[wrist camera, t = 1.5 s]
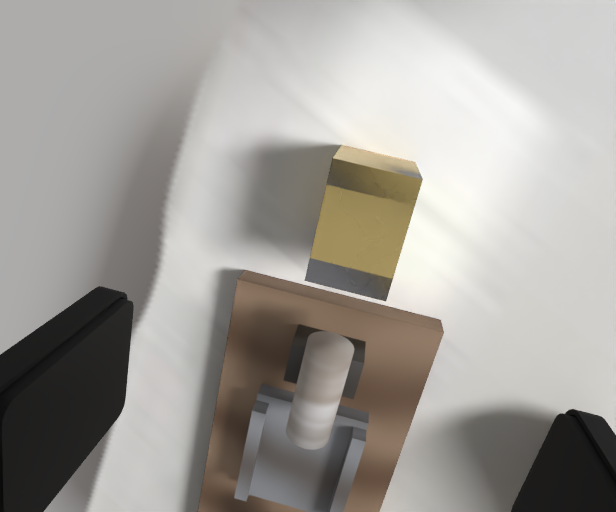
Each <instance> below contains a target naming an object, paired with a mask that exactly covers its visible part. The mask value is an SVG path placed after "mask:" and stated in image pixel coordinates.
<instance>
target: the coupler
mask: <svg viewBox="0 0 616 512" xmlns="http://www.w3.org/2000/svg"><path fill="white" fill-rule="evenodd" d="M422 180H423V179H422V177H421V174H420V172H419V170H418V168H417V165H416V163H415V162H412V161H408V160H404V159H400V158H395V157H391V156H387V155H383V154H378V153H374V152H370V151H366V150H361V149H357V148H353V147H349V146H344V145H341V147H340V148H339V150H338V151H337V152H336V154H335V155H334V157H333V159H332V163H331V167H330V172H329V176H328V181H327V185H326V189H325V194H324V198H323V203H322V207H321V211H320V216H319V220H318V225H317V229H316V233H315V238H314V242H313V247H312V251H311V255H310V260H309V264H308V269H307V273H306V277H305V281H308V282H312V283H316V284H320V285H324V286H328V287H332V288H336V289H340V290H344V291H348V292H352V293H355V294H359V295H363V296H367V297H371V298H375V299H379V300H383V301H386V299H387V296H388V293H389V289H390V286H391V283H392V279H393V276H394V273H395V269H396V266H397V263H398V259H399V256H400V253H401V250H402V246H403V243H404V240H405V236H406V233H407V230H408V226H409V223H410V220H411V216H412V213H413V210H414V206H415V203H416V200H417V196H418V193H419V190H420V186H421V183H422Z"/></svg>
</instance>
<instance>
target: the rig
mask: <svg viewBox="0 0 616 512" xmlns="http://www.w3.org/2000/svg"><path fill="white" fill-rule="evenodd" d="M443 333H444V331H443V327H442V323H441V320H438V319H434V318H430V317H426V316H422V315H419V314H415V313H411V312H407V311H403V310H399V309H395V308H391V307H387V306H383V305H379V304H376V303H372V302H368V301H364V300H360V299H356V298H352V297H348V296H344V295H340V294H337V293H333V292H329V291H325V290H321V289H317V288H313V287H309V286H305V285H301V284H297V283H294V282H290V281H286V280H282V279H278V278H274V277H270V276H266V275H262V274H258V273H255V272H251V271H247V270H244V271H243V273H242V274H241V275H240V277H239V278H238V280H237V286H236V292H235V297H234V303H233V309H232V315H231V321H230V327H229V332H228V338H227V344H226V350H225V356H224V362H223V368H222V373H221V379H220V385H219V391H218V397H217V403H216V408H215V414H214V420H213V426H212V432H211V438H210V444H209V449H208V455H207V461H206V467H205V473H204V479H203V484H202V490H201V496H200V502H199V508H198V512H379V511H380V508H381V506H382V503H383V500H384V497H385V494H386V492H387V489H388V486H389V483H390V481H391V478H392V475H393V472H394V469H395V467H396V464H397V461H398V458H399V456H400V453H401V450H402V447H403V444H404V442H405V439H406V436H407V433H408V431H409V428H410V425H411V422H412V419H413V417H414V414H415V411H416V408H417V406H418V403H419V400H420V397H421V394H422V392H423V389H424V386H425V383H426V381H427V378H428V375H429V372H430V369H431V367H432V364H433V361H434V358H435V356H436V353H437V350H438V347H439V344H440V342H441V339H442V336H443Z"/></svg>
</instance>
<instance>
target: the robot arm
mask: <svg viewBox="0 0 616 512" xmlns="http://www.w3.org/2000/svg"><path fill="white" fill-rule="evenodd" d="M132 319H133V302H132V301H128V300H127V295H126V294H125V293H124V292H119V291H116V290H112V289H108V288H105V287H100V286H99V287H97V288H95V289H94V290H92V291H91V292H89V293H88V294H87V295H85V296H84V297H82V298H81V299H79V300H78V301H76V302H75V303H74V304H72V305H71V306H69V307H68V308H67V309H65V310H64V311H62V312H61V313H59V314H58V315H56V316H55V317H54V318H52V319H51V320H49V321H48V322H46V323H45V324H44V325H42V326H41V327H39V328H38V329H36V330H35V331H34V332H32V333H31V334H29V335H28V336H27V337H25V338H24V339H22V340H21V341H19V342H18V343H17V344H15V345H14V346H12V347H11V348H10V349H8V350H7V351H5V352H4V353H2V354H1V355H0V512H43V511H44V510H45V509H46V508H47V506H48V505H49V504H50V503H51V501H52V500H53V499H54V498H55V496H56V495H57V494H58V493H59V491H60V490H61V489H62V488H63V486H64V485H65V484H66V483H67V481H68V480H69V479H70V478H71V476H72V475H73V474H74V472H75V471H76V470H77V469H78V467H79V466H80V465H81V463H82V462H83V461H84V460H85V459H86V457H87V456H88V455H89V454H90V452H91V451H92V450H93V449H94V447H95V446H96V445H97V443H98V442H99V441H100V440H101V439H102V437H103V436H104V435H105V434H106V432H107V431H108V430H109V428H110V427H111V426H112V425H113V423H114V422H115V421H116V420H117V418H118V417H119V415H120V414H121V412H122V409H123V407H124V403H125V397H126V386H127V374H128V363H129V352H130V341H131V330H132ZM511 512H616V435H615V434H614V432H613V431H612V429H611V428H610V426H609V425H608V423H607V422H606V421H605V419H604V418H603V417H601V416H598V415H594V414H590V413H586V412H582V411H578V410H574V409H571V410H568V411H567V412H566V413H565V414H559V415H558V416H557V417H556V418H555V420H554V422H553V424H552V426H551V428H550V431H549V433H548V435H547V437H546V439H545V441H544V443H543V445H542V447H541V449H540V451H539V453H538V455H537V457H536V459H535V461H534V463H533V465H532V468H531V470H530V472H529V474H528V476H527V478H526V480H525V482H524V484H523V486H522V488H521V490H520V492H519V494H518V496H517V498H516V500H515V502H514V504H513V507H512V510H511Z"/></svg>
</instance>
